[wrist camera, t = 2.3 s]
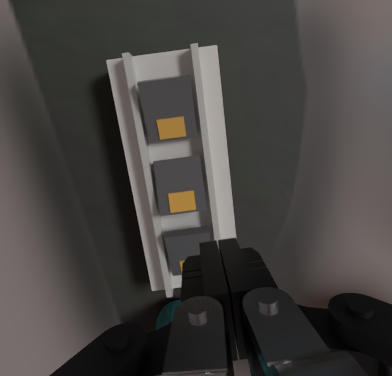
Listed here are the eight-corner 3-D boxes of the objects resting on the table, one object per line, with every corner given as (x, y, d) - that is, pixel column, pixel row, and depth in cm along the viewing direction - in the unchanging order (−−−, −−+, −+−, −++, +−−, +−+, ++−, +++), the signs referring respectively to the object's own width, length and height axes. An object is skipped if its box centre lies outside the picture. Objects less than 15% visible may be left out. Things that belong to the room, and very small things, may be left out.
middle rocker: (154, 162, 26) (152, 161, 25) (199, 156, 26) (199, 154, 24) (161, 215, 26) (160, 216, 24) (206, 209, 26) (207, 210, 24)
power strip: (116, 67, 27) (100, 56, 22) (213, 54, 27) (218, 40, 22) (155, 273, 33) (150, 299, 28) (234, 263, 33) (242, 287, 28)
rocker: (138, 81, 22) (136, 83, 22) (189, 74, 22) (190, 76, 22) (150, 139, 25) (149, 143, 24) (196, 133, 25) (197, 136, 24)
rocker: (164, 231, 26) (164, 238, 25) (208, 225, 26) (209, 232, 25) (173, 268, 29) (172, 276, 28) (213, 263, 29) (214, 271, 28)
